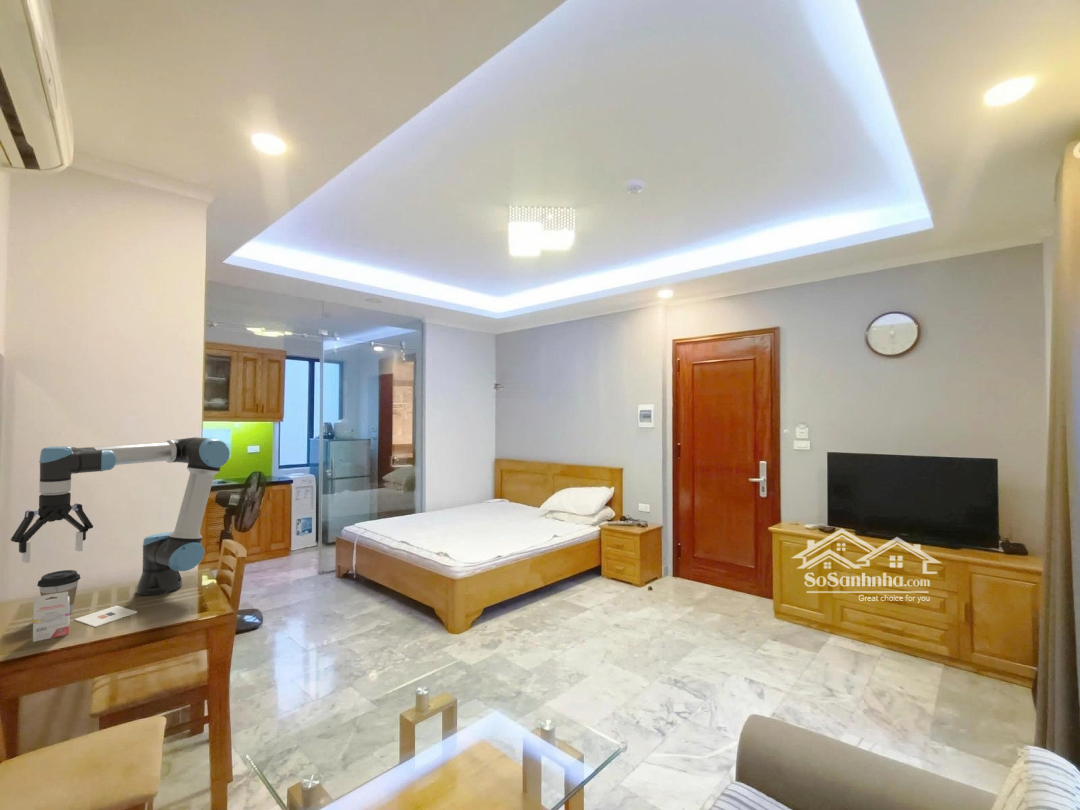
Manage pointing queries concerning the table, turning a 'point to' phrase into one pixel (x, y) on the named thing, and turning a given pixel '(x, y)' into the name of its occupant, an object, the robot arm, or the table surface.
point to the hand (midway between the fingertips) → (53, 556)
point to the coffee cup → (60, 585)
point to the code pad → (105, 616)
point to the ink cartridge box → (50, 616)
